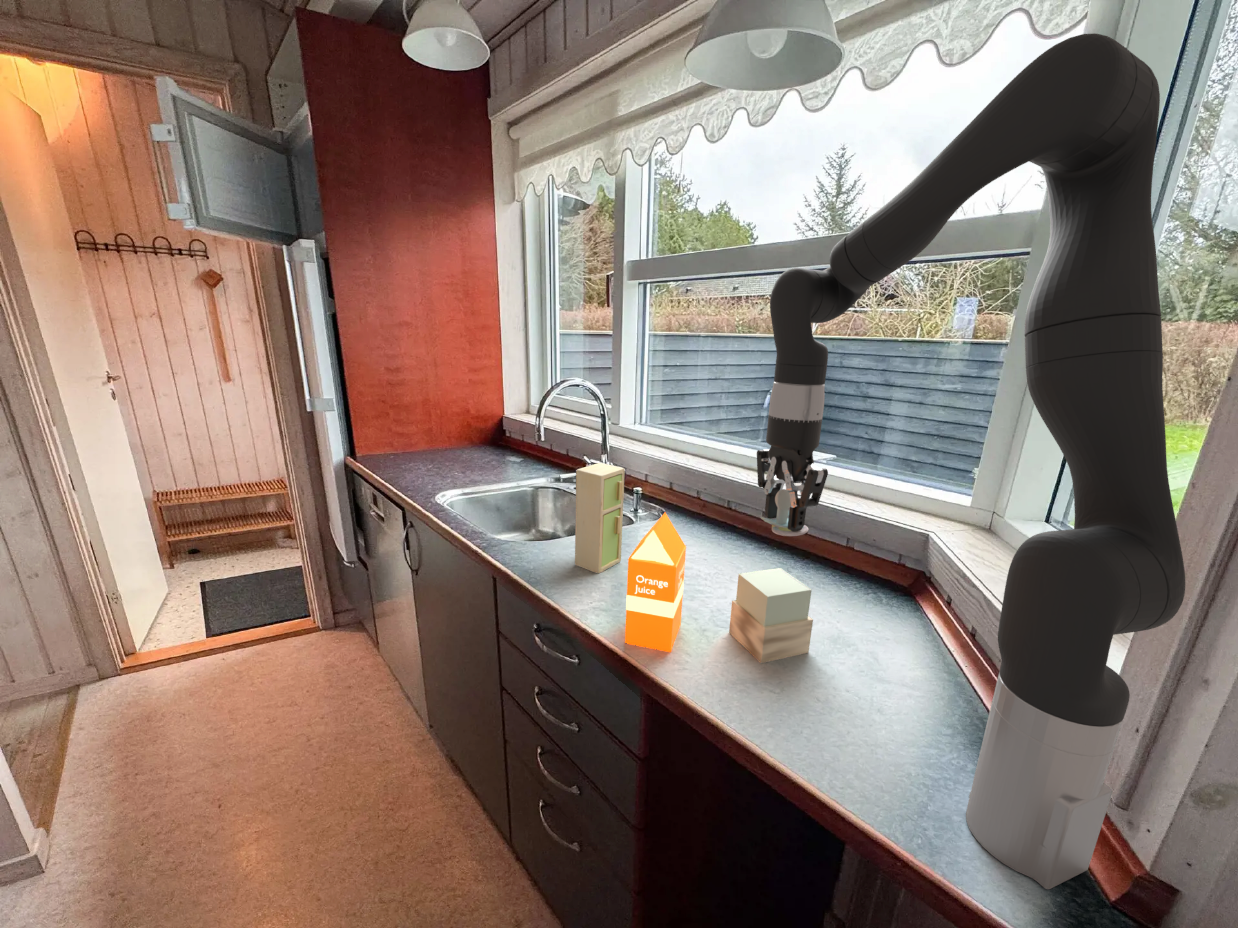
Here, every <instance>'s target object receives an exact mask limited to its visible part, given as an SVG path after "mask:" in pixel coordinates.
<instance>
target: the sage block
mask: <svg viewBox="0 0 1238 928" xmlns="http://www.w3.org/2000/svg"><path fill="white" fill-rule="evenodd" d="M737 577H738V578H737V587H736V596H735V597H736V598H735V600H736V602H737V603H738V604H739V605H740V606H742V607H743V608H744V609H745V610H746V611H747V612H748V613H750V614H751V615H752V616H753V617H754V618H755V619H756V620H757V621H759V622H760V623H761V624H762V625H763V626H764V627H765V626H771V625H776V624H782V623H787V622H793V621H798V620H804V619H808V616H809V612H810V603H811V596H812V591H813V590H812V589H811V588H810V587H808V585H806V584H804V583H803V582H801V581H800V580H798V579H797V578H796V577H794V576H793V575H791V574H790V573H788V572H787V571H786V570H784V569H783V568H781V567H777V568H769V569H764V570H763V569H762V570H755V571H747V572H741V573H738V576H737Z"/></svg>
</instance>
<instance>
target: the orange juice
mask: <svg viewBox="0 0 1238 928" xmlns="http://www.w3.org/2000/svg"><path fill="white" fill-rule="evenodd" d="M686 550H687V545H686V544H685V542H684V541H683V539H682V538H681V536H680V534H679V533H678V531H677V529H676V528H675V526H674V525H673V523H672V521H671V520H670V518H669V516H668V514H667V513H666V512H664V513H663V514H662V515H661V517H659V519H658V520H657V521H656V522H655V524H654V525H653V526H652V527H651V528H650V529H649V530H648V531H647V533H646V534H645V535H644V536H643V537H642V539H641V540H640V541H639V543H638V544H637V546H636V547H635V549H634V550H633V552H632V553H631V554H630V555H629V557H628V559H627V582H626V583H627V585H626V595H625V596H626V597H625V598H626V599H625V600H626V601H625V631H624V632H625V633H624V644H625V643H627V645H630V646H631V645H632V646H635V645H636V646H637V647H642V648H645V647H646V648H647V649H651V650H656V649H657V650H656V651H660V652H667V653H672V650H673V647H674V645H675V642H676V639H677V635H678V633H679V631H680V627H681V623H682V611H683V610H682V609H683V596H684V583H685V567H686V555H687V554H686V552H687V551H686ZM646 648H645V649H646Z"/></svg>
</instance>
